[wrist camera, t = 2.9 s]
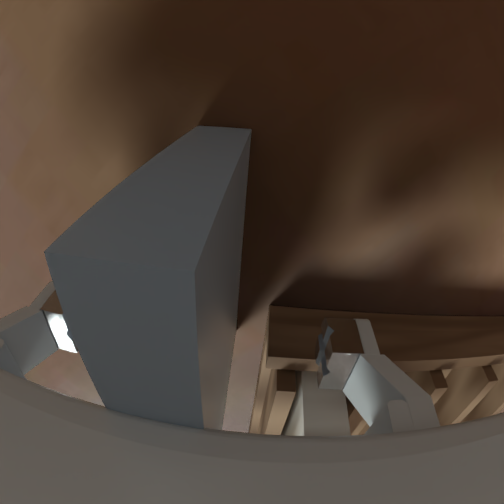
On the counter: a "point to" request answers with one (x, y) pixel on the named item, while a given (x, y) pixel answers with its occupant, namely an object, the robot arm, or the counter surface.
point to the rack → (390, 344)
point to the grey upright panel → (161, 280)
